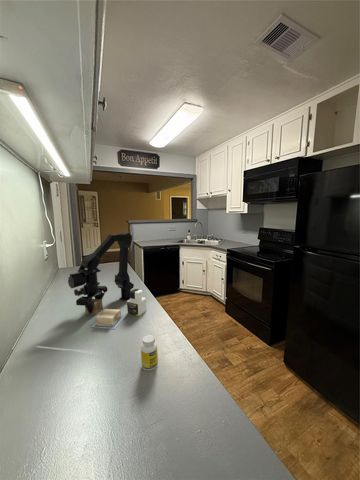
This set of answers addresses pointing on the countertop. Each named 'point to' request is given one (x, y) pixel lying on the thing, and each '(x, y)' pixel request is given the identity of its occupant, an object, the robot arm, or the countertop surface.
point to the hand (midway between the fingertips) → (94, 310)
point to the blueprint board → (109, 326)
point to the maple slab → (108, 317)
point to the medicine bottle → (136, 303)
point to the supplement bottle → (149, 353)
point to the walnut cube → (96, 306)
